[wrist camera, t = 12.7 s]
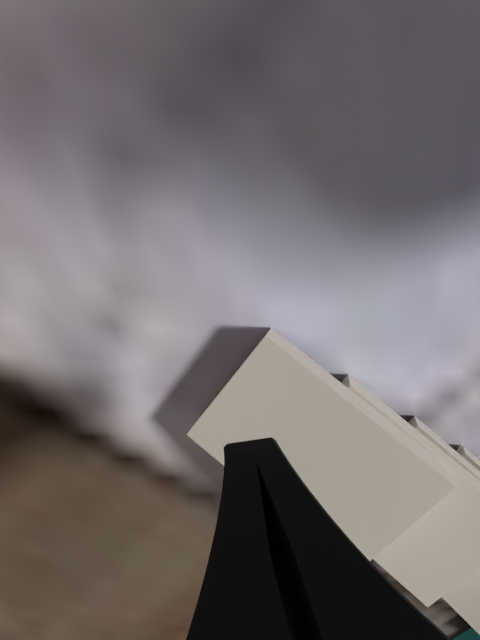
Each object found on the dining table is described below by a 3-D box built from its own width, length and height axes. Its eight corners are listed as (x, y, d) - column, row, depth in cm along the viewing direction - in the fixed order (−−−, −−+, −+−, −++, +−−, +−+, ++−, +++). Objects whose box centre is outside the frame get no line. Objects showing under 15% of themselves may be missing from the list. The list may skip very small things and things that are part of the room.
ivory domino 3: (414, 416, 16) (577, 554, 14) (345, 481, 18) (484, 619, 15) (418, 425, 15) (600, 582, 13) (341, 497, 16) (495, 651, 14)
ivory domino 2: (348, 374, 15) (506, 502, 14) (277, 450, 16) (417, 573, 15) (350, 385, 13) (528, 530, 12) (271, 468, 14) (427, 607, 13)
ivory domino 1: (271, 327, 13) (439, 459, 13) (199, 416, 14) (349, 540, 14) (265, 335, 12) (456, 487, 11) (186, 434, 13) (354, 574, 12)
